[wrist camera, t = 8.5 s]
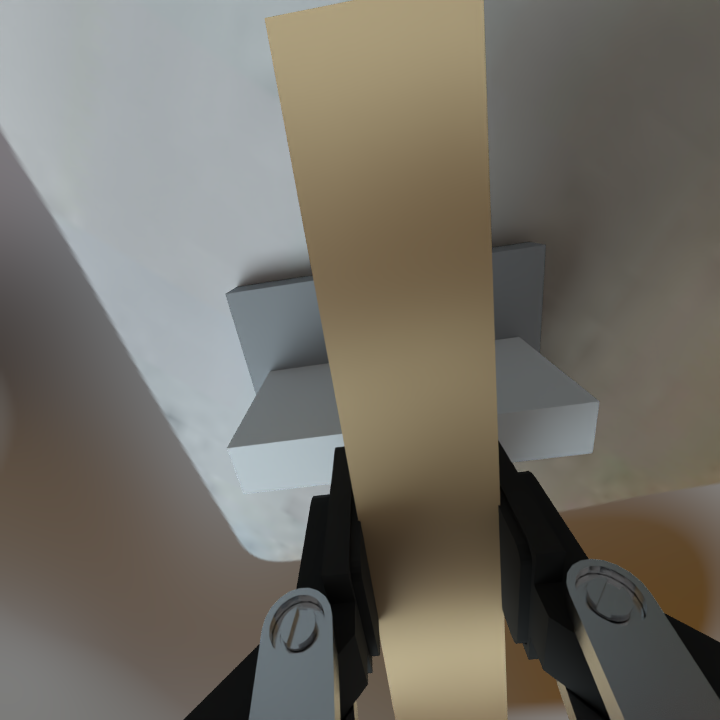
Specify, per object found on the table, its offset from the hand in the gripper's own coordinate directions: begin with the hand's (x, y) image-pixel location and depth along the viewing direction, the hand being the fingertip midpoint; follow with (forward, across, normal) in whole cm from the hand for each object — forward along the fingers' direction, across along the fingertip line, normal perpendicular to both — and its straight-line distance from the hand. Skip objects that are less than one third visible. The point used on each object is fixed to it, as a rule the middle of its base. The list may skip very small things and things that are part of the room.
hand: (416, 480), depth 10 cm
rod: (+1, 0, 0) cm, 1 cm away
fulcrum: (+9, 0, 0) cm, 9 cm away
